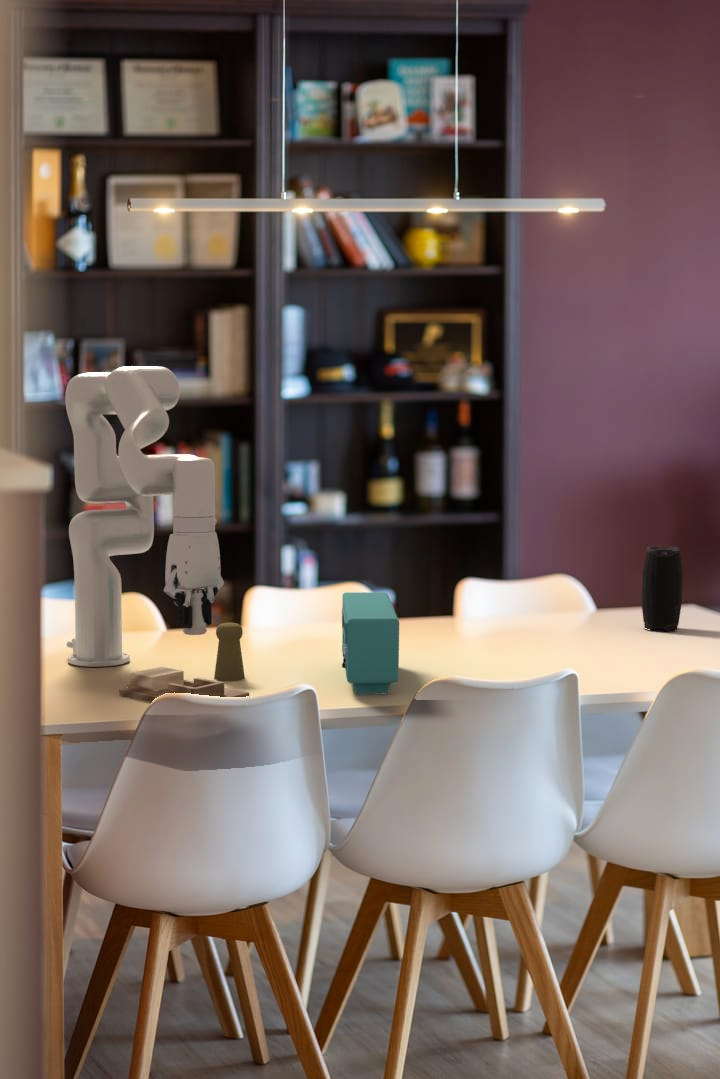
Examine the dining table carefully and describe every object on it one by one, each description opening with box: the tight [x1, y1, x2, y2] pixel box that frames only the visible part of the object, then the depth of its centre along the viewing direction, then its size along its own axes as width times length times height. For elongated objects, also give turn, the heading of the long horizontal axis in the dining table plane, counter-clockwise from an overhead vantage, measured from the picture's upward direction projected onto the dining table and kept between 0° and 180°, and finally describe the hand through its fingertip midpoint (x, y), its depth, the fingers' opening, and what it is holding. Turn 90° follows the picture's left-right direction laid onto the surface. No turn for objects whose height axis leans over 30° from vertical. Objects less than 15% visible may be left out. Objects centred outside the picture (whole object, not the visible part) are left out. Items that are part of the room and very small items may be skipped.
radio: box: [341, 592, 400, 695], centre depth 291 cm, size 34×10×15 cm, turn 2°
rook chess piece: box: [182, 589, 208, 636], centre depth 270 cm, size 4×4×8 cm
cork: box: [213, 622, 246, 682], centre depth 292 cm, size 6×6×11 cm
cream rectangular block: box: [129, 666, 185, 691], centre depth 278 cm, size 6×8×3 cm
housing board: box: [118, 677, 250, 703], centre depth 275 cm, size 20×14×3 cm
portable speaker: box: [641, 545, 684, 632], centre depth 351 cm, size 9×9×20 cm
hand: (194, 624), depth 270 cm, fingers closed on rook chess piece, 4 cm apart
